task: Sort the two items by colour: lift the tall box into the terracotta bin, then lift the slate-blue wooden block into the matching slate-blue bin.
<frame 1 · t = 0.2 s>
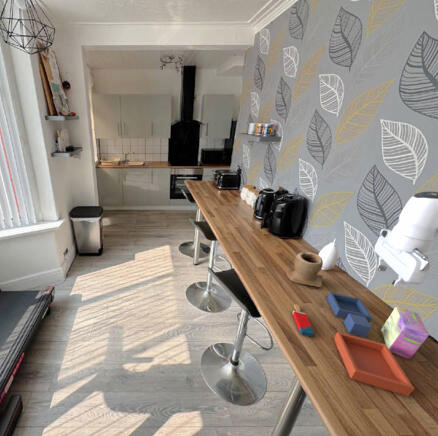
hand: (388, 277, 79), 23 cm above the table, tool pointing down, fingers open, 8 cm apart
sauce bottle: (322, 269, 122), on the table
box: (394, 344, 82), on the table
slate block: (354, 330, 87), on the table
popsicle: (300, 320, 90), on the table
slate bin: (346, 310, 96), on the table
stone cup: (304, 282, 112), on the table
terracotta bin: (366, 364, 75), on the table
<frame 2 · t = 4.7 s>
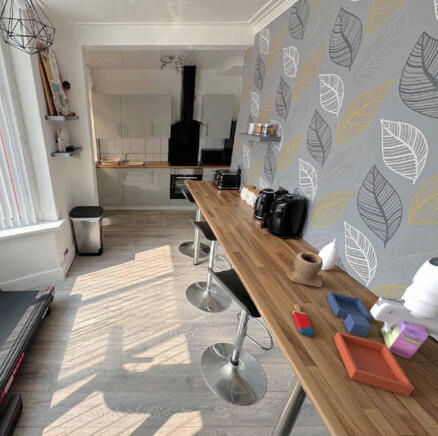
hand: (400, 334, 80), 5 cm above the table, tool pointing down, fingers closed on box, 6 cm apart
box: (394, 344, 82), on the table, touching gripper
everything else where it was.
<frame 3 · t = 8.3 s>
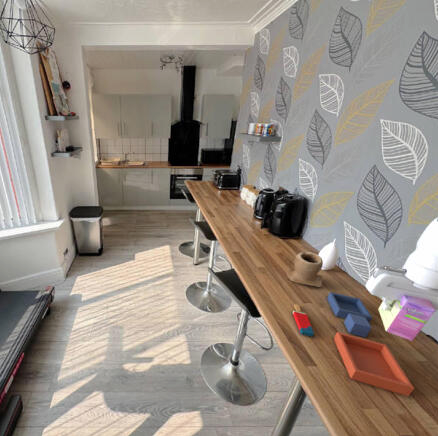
hand: (401, 312, 67), 21 cm above the table, tool pointing down, fingers closed on box, 6 cm apart
box: (393, 324, 69), point 16 cm above the table, touching gripper
everything else where it was.
when the fingers open (5 cm above the table, at t = 12.4 s): box stays where it is, resting on terracotta bin.
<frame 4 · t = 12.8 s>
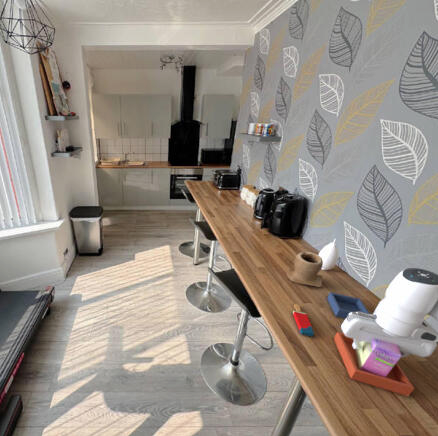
hand: (374, 353, 72), 5 cm above the table, tool pointing down, fingers open, 8 cm apart
box: (367, 363, 74), resting on terracotta bin
everything else where it was.
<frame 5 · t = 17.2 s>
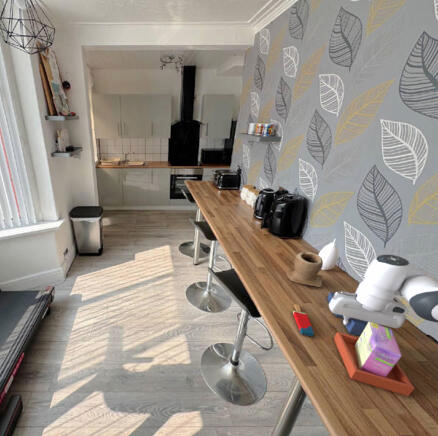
hand: (356, 326, 86), 2 cm above the table, tool pointing down, fingers closed on slate block, 5 cm apart
slate block: (354, 330, 87), on the table, touching gripper
everything else where it was.
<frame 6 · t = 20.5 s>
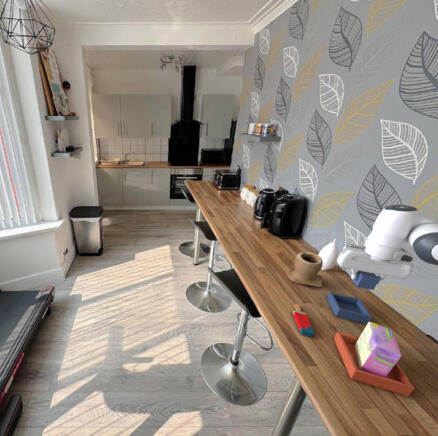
hand: (364, 280, 88), 16 cm above the table, tool pointing down, fingers closed on slate block, 5 cm apart
slate block: (362, 284, 88), point 15 cm above the table, touching gripper
everything else where it was.
when the fingers open (3 cm above the table, at t = 24.9 s): slate block stays where it is, resting on slate bin.
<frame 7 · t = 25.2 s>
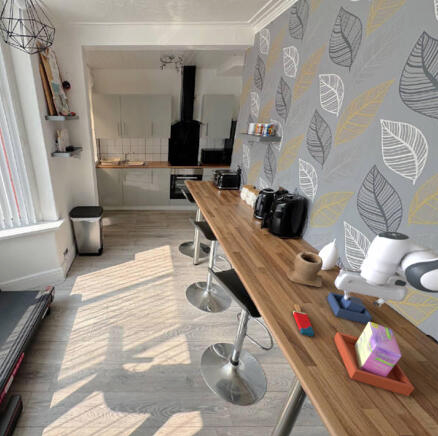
hand: (361, 302, 91), 6 cm above the table, tool pointing down, fingers open, 8 cm apart
slate block: (347, 309, 95), point 1 cm above the table, tilted 10°, touching slate bin
everything else where it was.
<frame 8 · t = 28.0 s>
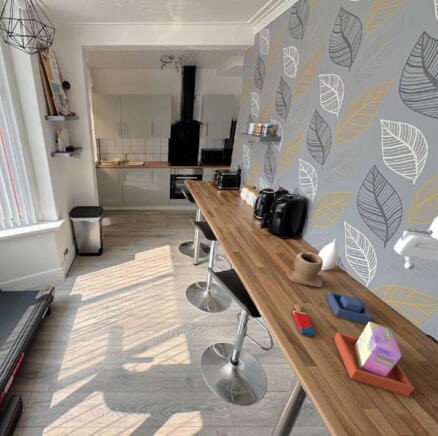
hand: (426, 271, 76), 27 cm above the table, tool pointing down, fingers open, 8 cm apart
slate block: (347, 309, 95), point 1 cm above the table, touching slate bin
everything else where it was.
at the end: box inside the target area in the terracotta bin (0.0 cm from its centre), point 0.4 cm above the terracotta bin's base; slate block inside the target area in the slate bin (0.1 cm from its centre), point 0.6 cm above the slate bin's base; box tilted 0° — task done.
